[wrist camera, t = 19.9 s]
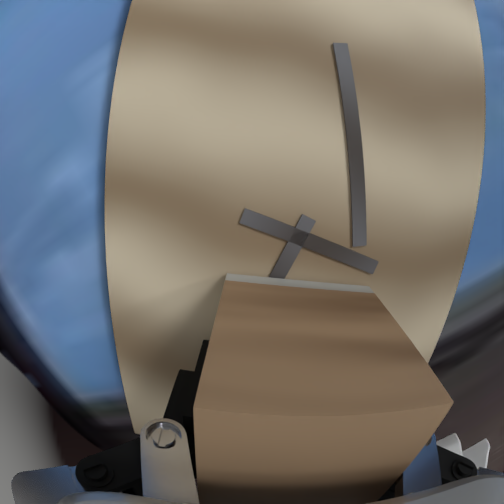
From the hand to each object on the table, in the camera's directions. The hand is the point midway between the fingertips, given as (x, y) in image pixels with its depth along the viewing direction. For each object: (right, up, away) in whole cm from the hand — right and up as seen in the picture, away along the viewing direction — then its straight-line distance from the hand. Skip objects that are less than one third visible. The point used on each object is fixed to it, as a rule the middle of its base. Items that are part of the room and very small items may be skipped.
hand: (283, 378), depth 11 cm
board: (+1, +6, 0) cm, 6 cm away
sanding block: (0, 0, 0) cm, 0 cm away
